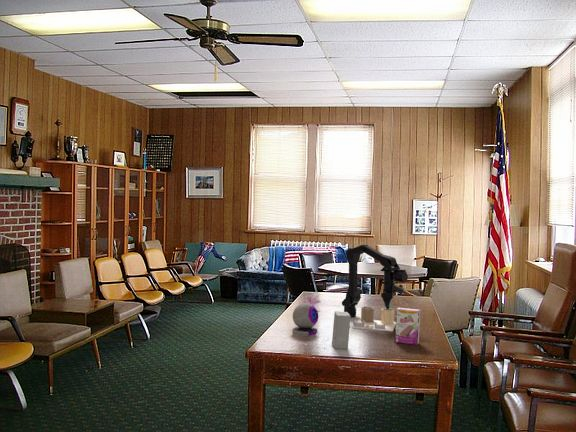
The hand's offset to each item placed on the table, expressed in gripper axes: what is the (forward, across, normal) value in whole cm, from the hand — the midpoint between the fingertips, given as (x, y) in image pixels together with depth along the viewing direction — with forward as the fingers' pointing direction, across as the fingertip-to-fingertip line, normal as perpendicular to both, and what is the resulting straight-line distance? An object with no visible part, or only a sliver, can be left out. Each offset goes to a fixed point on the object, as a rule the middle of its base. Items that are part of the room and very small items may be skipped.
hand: (387, 308), depth 326 cm
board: (+9, -7, +6) cm, 13 cm away
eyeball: (+9, -38, +38) cm, 54 cm away
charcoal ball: (+2, -1, +11) cm, 11 cm away
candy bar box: (+9, -40, -13) cm, 43 cm away
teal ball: (-2, 0, 0) cm, 2 cm away
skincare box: (+9, -58, +16) cm, 61 cm away
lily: (+9, +20, +48) cm, 53 cm away
